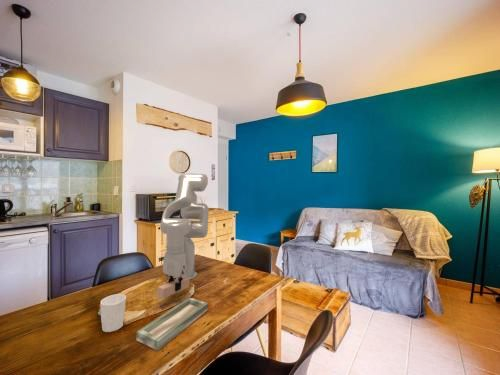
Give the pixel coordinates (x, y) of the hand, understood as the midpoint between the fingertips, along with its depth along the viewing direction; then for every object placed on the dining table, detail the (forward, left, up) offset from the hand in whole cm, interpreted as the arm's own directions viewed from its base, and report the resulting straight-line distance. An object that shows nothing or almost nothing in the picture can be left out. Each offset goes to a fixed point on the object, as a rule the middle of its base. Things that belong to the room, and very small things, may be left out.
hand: (174, 288), depth 101 cm
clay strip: (0, 0, -1) cm, 1 cm away
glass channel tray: (+14, -13, -5) cm, 19 cm away
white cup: (-5, -25, -5) cm, 26 cm away
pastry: (-17, -19, -5) cm, 26 cm away
